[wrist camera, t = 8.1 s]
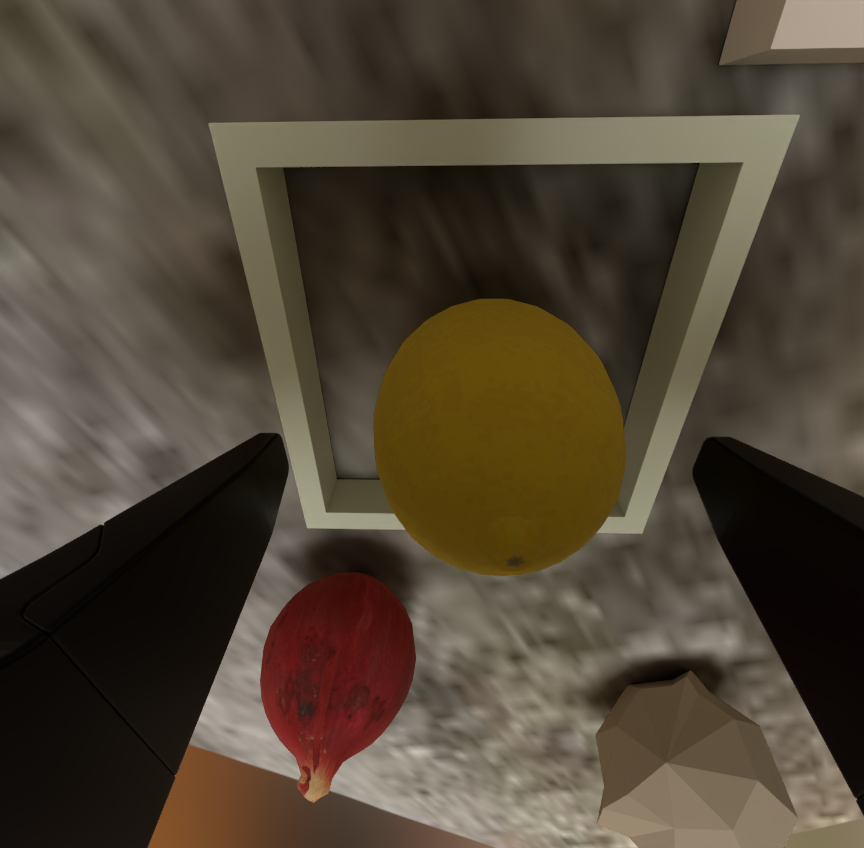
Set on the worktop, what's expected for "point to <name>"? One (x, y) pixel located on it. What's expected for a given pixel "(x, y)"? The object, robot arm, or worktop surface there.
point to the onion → (336, 672)
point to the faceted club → (689, 771)
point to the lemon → (499, 438)
